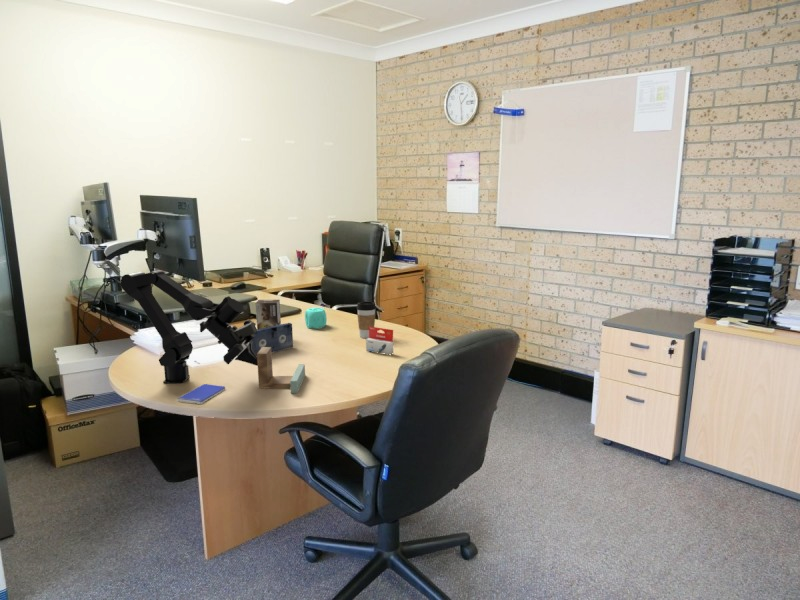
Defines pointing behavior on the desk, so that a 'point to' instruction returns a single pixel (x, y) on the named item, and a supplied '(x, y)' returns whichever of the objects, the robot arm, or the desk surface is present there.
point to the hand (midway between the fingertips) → (259, 364)
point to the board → (297, 378)
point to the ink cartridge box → (380, 340)
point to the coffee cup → (365, 317)
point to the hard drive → (201, 394)
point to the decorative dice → (315, 318)
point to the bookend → (269, 371)
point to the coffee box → (267, 313)
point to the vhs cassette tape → (273, 338)
